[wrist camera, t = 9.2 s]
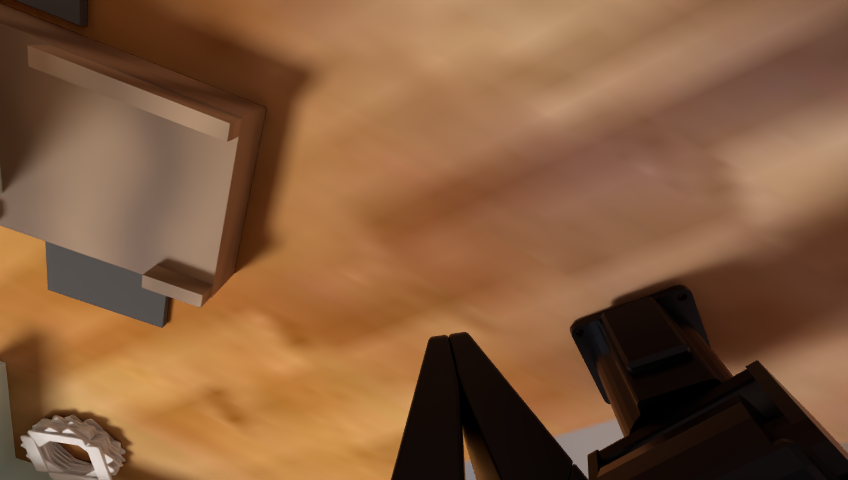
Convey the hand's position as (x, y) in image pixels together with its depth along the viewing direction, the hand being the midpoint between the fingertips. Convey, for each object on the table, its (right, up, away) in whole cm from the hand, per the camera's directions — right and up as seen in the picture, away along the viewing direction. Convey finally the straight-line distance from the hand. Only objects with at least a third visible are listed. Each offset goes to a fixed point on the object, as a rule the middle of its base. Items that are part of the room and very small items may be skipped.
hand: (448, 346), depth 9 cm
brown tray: (-19, +8, +12) cm, 23 cm away
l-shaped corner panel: (-27, -13, +24) cm, 38 cm away
